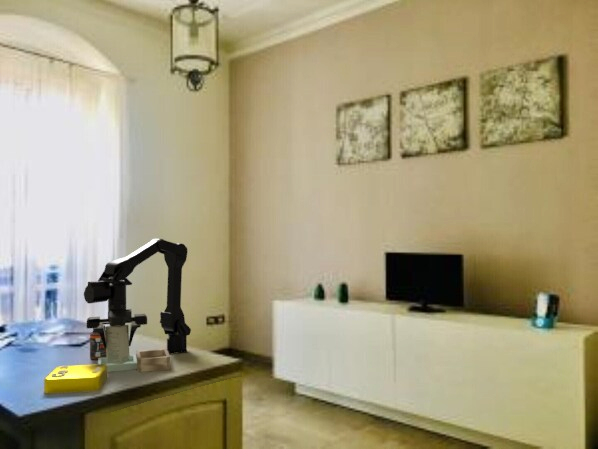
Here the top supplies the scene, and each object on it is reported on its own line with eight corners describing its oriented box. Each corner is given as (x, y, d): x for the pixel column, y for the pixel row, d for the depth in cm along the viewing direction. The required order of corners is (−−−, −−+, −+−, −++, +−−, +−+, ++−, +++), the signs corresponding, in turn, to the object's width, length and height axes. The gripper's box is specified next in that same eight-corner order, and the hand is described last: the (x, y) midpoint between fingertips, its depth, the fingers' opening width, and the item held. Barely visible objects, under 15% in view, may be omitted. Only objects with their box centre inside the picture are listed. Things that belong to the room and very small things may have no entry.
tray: (135, 360, 183) (135, 354, 183) (137, 369, 171) (137, 363, 171) (98, 363, 179) (98, 357, 179) (97, 372, 167) (97, 366, 167)
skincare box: (130, 361, 176) (129, 324, 176) (121, 364, 172) (121, 327, 172) (114, 360, 178) (113, 323, 178) (105, 363, 174) (105, 326, 174)
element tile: (99, 392, 149) (99, 375, 149) (42, 395, 146) (42, 378, 146) (108, 377, 164) (108, 361, 164) (56, 380, 161) (56, 364, 161)
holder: (166, 360, 182) (166, 348, 182) (170, 369, 171) (170, 356, 171) (136, 363, 179) (136, 351, 179) (137, 372, 167) (137, 359, 167)
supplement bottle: (101, 360, 183) (101, 327, 183) (86, 359, 184) (86, 327, 184) (111, 356, 188) (111, 324, 188) (96, 355, 190) (96, 323, 190)
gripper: (85, 304, 164) (86, 355, 164) (148, 301, 170) (148, 349, 170) (87, 300, 175) (87, 347, 175) (146, 297, 181) (146, 342, 181)
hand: (117, 347), depth 175 cm, fingers closed on skincare box, 7 cm apart
